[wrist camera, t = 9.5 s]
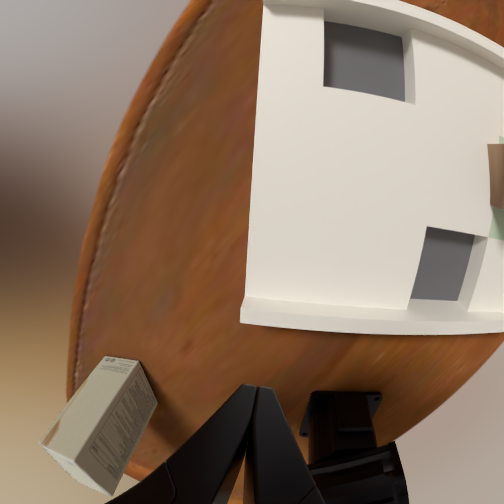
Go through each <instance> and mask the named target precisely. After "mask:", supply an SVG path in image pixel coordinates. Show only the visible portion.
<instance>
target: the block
mask: <svg viewBox="0 0 504 504" xmlns="http://www.w3.org/2000/svg"><path fill="white" fill-rule="evenodd" d="M487 149H488V160H489V176H490V205H492V206H495V207H498V208H501V209H504V144H487Z"/></svg>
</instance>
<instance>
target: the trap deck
mask: <svg viewBox="0 0 504 504" xmlns="http://www.w3.org/2000/svg"><path fill="white" fill-rule="evenodd" d="M263 4H264V7H263V21H262V35H261V49H260V64H259V79H258V94H257V109H256V124H255V139H254V155H253V171H252V186H251V203H250V219H249V235H248V252H247V269H246V286H245V297H244V300H243V303H242V306H241V314H240V323H247V324H255V325H263V326H272V327H282V328H292V329H303V330H315V331H329V332H344V333H363V334H392V335H453V334H479V333H496V332H504V209H501V208H498V207H495V206H492V205H490V176H489V160H488V149H487V144H504V48H503V47H501V46H500V45H498V44H496V43H495V42H493V41H491V40H489V39H488V38H486V37H484V36H482V35H480V34H479V33H477V32H475V31H473V30H471V29H469V28H467V27H465V26H463V25H461V24H459V23H456V22H454V21H452V20H450V19H447V18H445V17H443V16H440V15H438V14H435V13H433V12H430V11H428V10H425V9H422V8H420V7H417V6H414V5H411V4H408V3H405V2H401V1H398V0H263Z"/></svg>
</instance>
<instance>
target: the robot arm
mask: <svg viewBox="0 0 504 504" xmlns="http://www.w3.org/2000/svg"><path fill="white" fill-rule="evenodd" d="M256 393H257V394H256ZM315 396H318V397H315ZM381 400H382V394H381V393H380V392H327V391H314V392H312V393H311V395H310V398H309V401H308V405H307V408H306V412H305V415H304V418H303V421H302V424H301V428H300V431H299V435H300V436H302V437H309V463H308V465H307V464H306V462H305V460H304V457H303V455H302V453H301V451H300V449H299V446H298V444H297V442H296V440H295V437H294V435H293V433H292V431H291V428H290V426H289V424H288V421H287V419H286V417H285V414H284V412H283V410H282V408H281V405H280V403H279V401H278V398H277V396H276V393H275V391H274V389H273V388H270V387H263V386H259V387H258V388H257V386H255V385H250V384H242V385H241V386H240V387H239V388H238V389H237V390H236V391H235V392H234V393H233V394H232V395H231V396H230V397H229V398H228V400H227V401H226V402H225V403H224V404H223V405H222V406H221V407H220V408H219V409H218V410H217V411H216V412H215V413H214V414H213V415H212V416H211V417H210V418H209V419H208V420H207V421H206V422H205V423H204V424H203V425H202V426H201V427H200V428H199V429H198V430H197V431H196V432H195V433H194V434H193V435H192V436H191V437H190V438H189V439H188V440H187V441H186V442H185V443H184V444H183V445H182V446H181V447H180V448H179V449H177V450H176V451H175V452H174V453H173V454H172V455H171V456H170V457H169V458H168V459H167V460H166V463H165V462H163V463H162V464H161V465H160V466H159V467H158V468H156V469H155V470H154V471H153V472H152V473H151V474H149V475H148V476H147V477H146V478H144V479H143V480H142V481H141V482H139V483H138V484H136V485H135V486H133V487H132V488H130V489H129V490H127V491H126V492H124V493H123V494H121V495H119V496H117V497H116V498H114V499H113V500H110V501H109V502H107V503H105V504H227V503H228V500H229V498H230V495H231V492H232V490H233V487H234V484H235V482H236V479H237V476H238V474H239V471H240V468H241V466H242V463H243V460H244V456H245V452H246V456H245V471H244V493H243V504H409V498H408V491H407V485H406V480H405V476H404V472H403V468H402V464H401V461H400V458H399V454H398V450H397V447H396V444H395V441H393V442H390V443H388V445H385V446H381V447H378V446H377V441H376V436H375V431H374V426H373V422H372V417H373V416H374V414H375V412H376V410H377V408H378V406H379V404H380V402H381ZM247 443H248V444H247ZM246 448H247V449H246Z"/></svg>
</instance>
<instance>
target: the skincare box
mask: <svg viewBox="0 0 504 504" xmlns="http://www.w3.org/2000/svg"><path fill="white" fill-rule="evenodd" d="M157 405H158V403H157V401H156V398H155V396H154V394H153V391H152V389H151V387H150V385H149V382H148V380H147V378H146V376H145V374H144V371H143V369H142V367H141V365H140V363H139V361H135V360H129V359H123V358H116V357H108V356H105V357H104V358H103V359H102V361H101V362H100V363H99V364H98V365H97V367H96V368H95V369H94V370H93V371H92V373H91V374H90V375H89V376H88V378H87V379H86V380H85V381H84V383H83V384H82V385H81V387H80V388H79V389H78V390H77V392H76V393H75V394H74V395H73V397H72V398H71V399H70V401H69V402H68V403H67V404H66V406H65V407H64V408H63V410H62V411H61V412H60V414H59V415H58V416H57V418H56V419H55V420H54V422H53V423H52V424H51V426H50V427H49V428H48V430H47V431H46V433H45V434H44V435H43V437H42V438H41V439H40V441H39V444H40V445H41V446H42V447H43V448H44V449H45V450H46V451H47V452H48V453H49V454H50V455H51V457H52V458H53V459H54V460H55V461H56V462H57V463H58V464H59V465H60V466H61V467H62V468H63V469H65V471H66V472H67V473H69V474H70V475H71V476H72V477H73V478H74V479H75V480H76V481H78V482H80V483H82V484H84V485H86V486H88V487H90V488H92V489H94V490H97V491H99V492H101V493H103V494H106V495H108V496H113V494H114V492H115V490H116V487H117V485H118V483H119V481H120V479H121V477H122V475H123V473H124V471H125V469H126V467H127V465H128V463H129V461H130V459H131V457H132V455H133V453H134V451H135V449H136V447H137V445H138V443H139V440H140V438H141V436H142V434H143V432H144V430H145V428H146V426H147V424H148V422H149V420H150V418H151V416H152V414H153V412H154V410H155V409H156V407H157Z"/></svg>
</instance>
